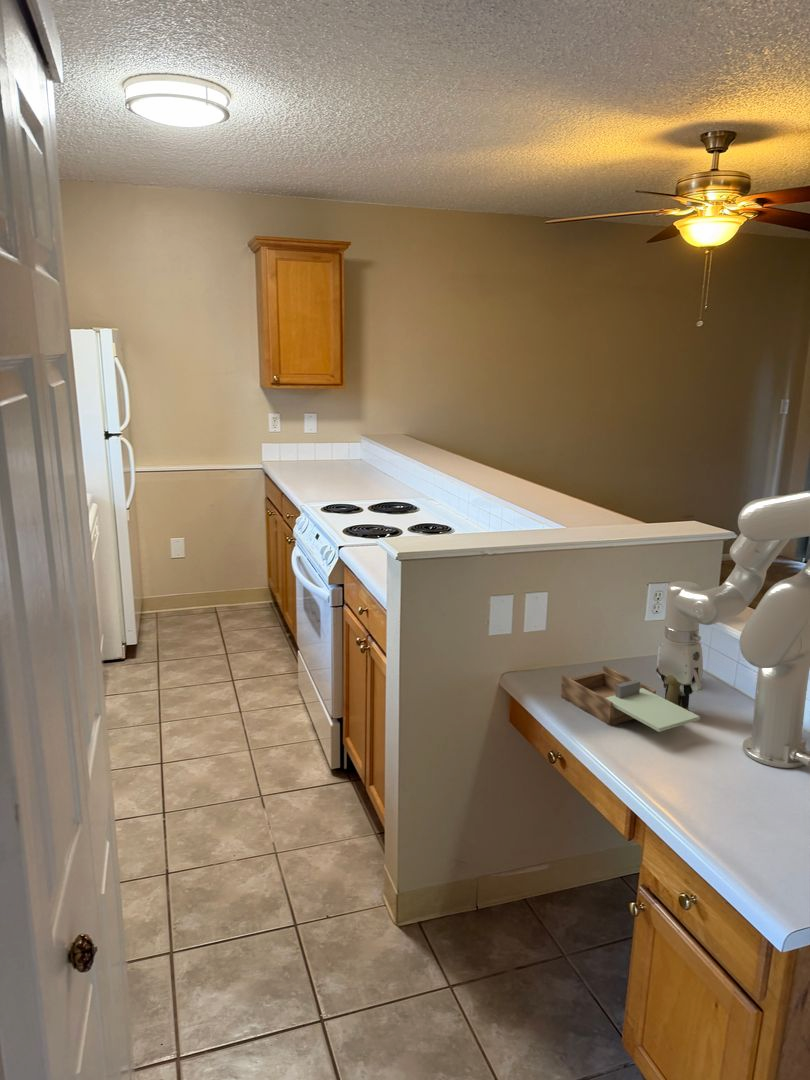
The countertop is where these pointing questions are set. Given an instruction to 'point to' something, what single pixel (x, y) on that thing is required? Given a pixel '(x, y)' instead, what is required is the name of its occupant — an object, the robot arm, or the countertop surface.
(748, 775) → the countertop surface
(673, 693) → the cork
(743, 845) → the countertop surface
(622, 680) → the wooden drawer box
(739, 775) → the countertop surface
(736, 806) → the countertop surface
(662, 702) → the lid
